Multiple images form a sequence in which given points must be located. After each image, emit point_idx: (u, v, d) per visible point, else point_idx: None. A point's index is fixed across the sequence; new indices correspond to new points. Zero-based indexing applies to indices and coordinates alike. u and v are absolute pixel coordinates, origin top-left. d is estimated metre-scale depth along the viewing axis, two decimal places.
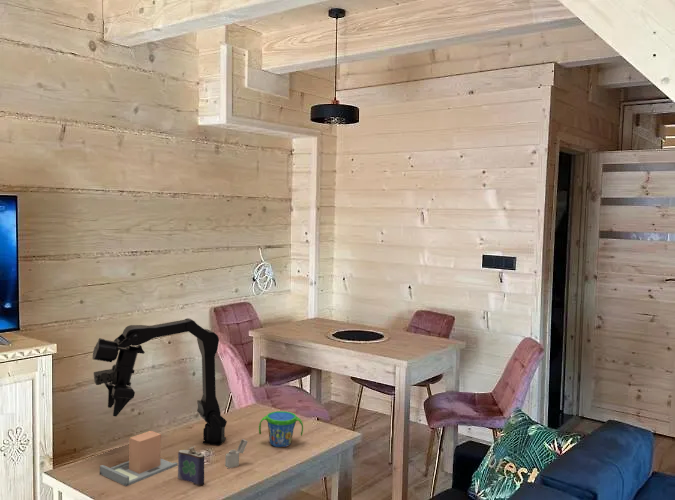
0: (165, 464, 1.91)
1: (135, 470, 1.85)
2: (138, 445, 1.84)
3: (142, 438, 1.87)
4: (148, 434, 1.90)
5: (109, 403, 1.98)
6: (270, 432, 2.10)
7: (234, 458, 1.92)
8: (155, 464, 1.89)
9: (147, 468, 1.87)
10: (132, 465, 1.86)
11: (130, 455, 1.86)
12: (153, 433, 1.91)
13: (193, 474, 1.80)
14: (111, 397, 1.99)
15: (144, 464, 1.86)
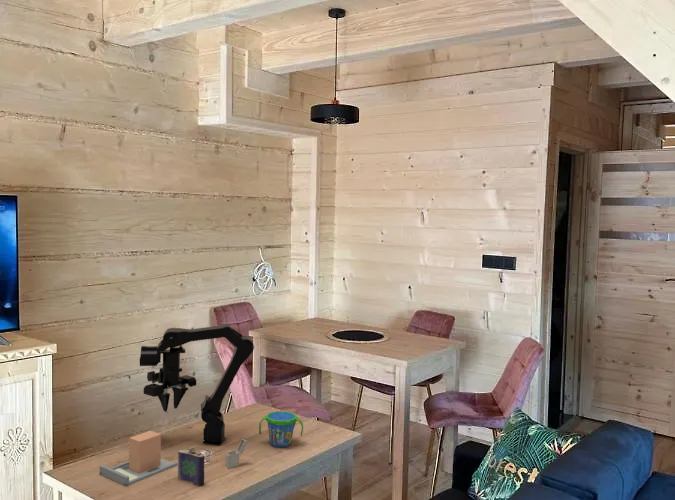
0: (165, 464, 1.91)
1: (135, 470, 1.85)
2: (138, 445, 1.84)
3: (142, 438, 1.87)
4: (148, 434, 1.90)
5: (174, 404, 2.11)
6: (270, 432, 2.10)
7: (234, 458, 1.92)
8: (155, 464, 1.89)
9: (147, 468, 1.87)
10: (132, 465, 1.86)
11: (130, 455, 1.86)
12: (153, 433, 1.91)
13: (193, 474, 1.80)
14: (175, 398, 2.11)
15: (144, 464, 1.86)
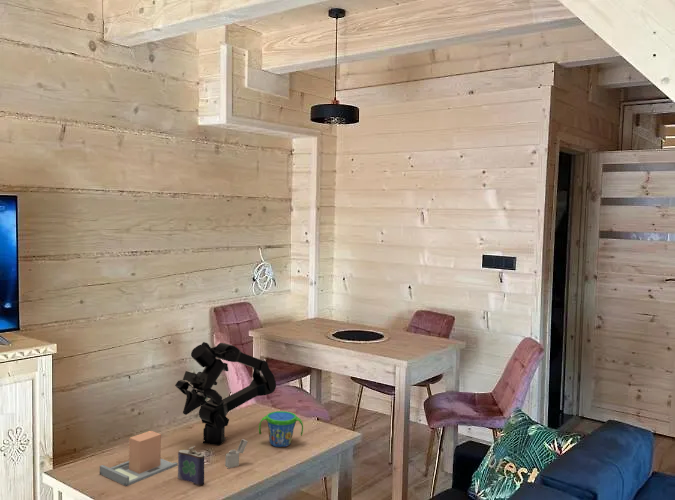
0: (165, 464, 1.91)
1: (135, 470, 1.85)
2: (138, 445, 1.84)
3: (142, 438, 1.87)
4: (148, 434, 1.90)
5: None
6: (270, 432, 2.10)
7: (234, 458, 1.92)
8: (155, 464, 1.89)
9: (147, 468, 1.87)
10: (132, 465, 1.86)
11: (130, 455, 1.86)
12: (153, 433, 1.91)
13: (193, 474, 1.80)
14: None
15: (144, 464, 1.86)
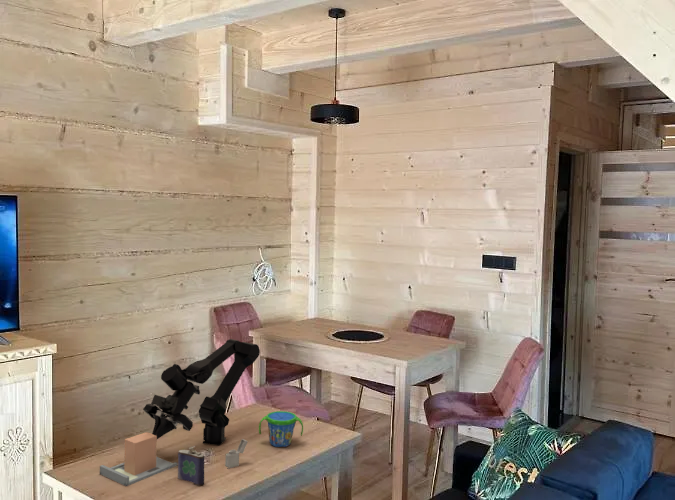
0: (165, 464, 1.91)
1: (130, 472, 1.84)
2: (134, 447, 1.82)
3: (137, 439, 1.85)
4: (143, 435, 1.88)
5: None
6: (270, 432, 2.10)
7: (234, 458, 1.92)
8: (151, 466, 1.88)
9: (143, 470, 1.85)
10: (127, 467, 1.85)
11: (125, 457, 1.85)
12: (149, 434, 1.89)
13: (193, 474, 1.80)
14: None
15: (140, 465, 1.84)
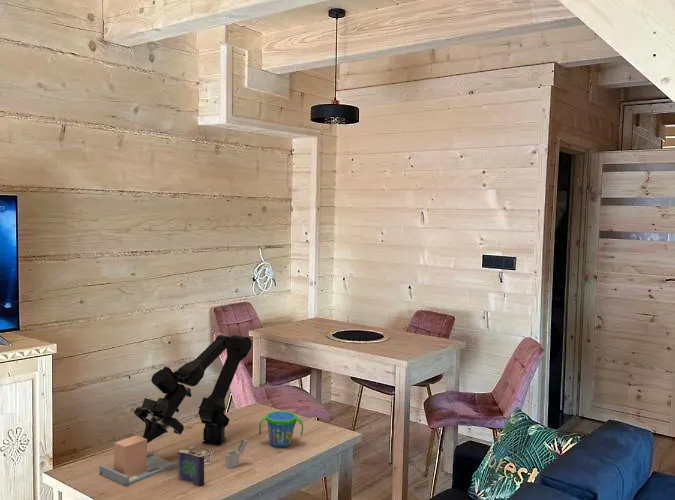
0: (165, 464, 1.91)
1: None
2: (123, 450, 1.79)
3: (127, 442, 1.82)
4: (133, 439, 1.85)
5: None
6: (270, 432, 2.10)
7: (234, 458, 1.92)
8: (141, 470, 1.85)
9: (132, 474, 1.82)
10: (117, 470, 1.82)
11: (115, 461, 1.82)
12: (139, 438, 1.86)
13: (193, 474, 1.80)
14: None
15: (130, 469, 1.81)
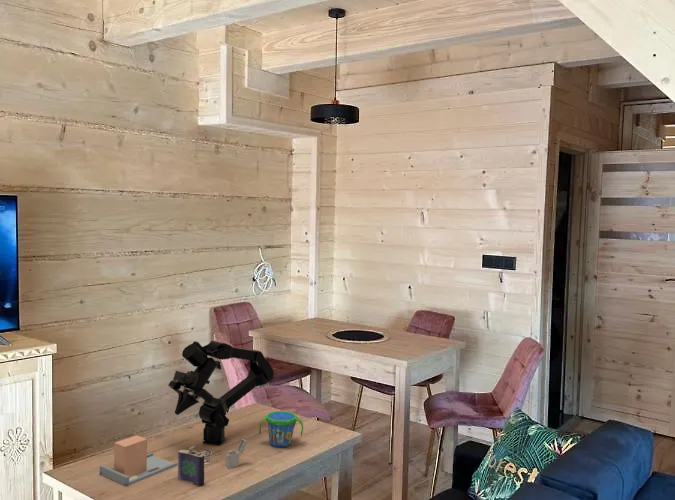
0: (165, 464, 1.91)
1: None
2: (123, 450, 1.79)
3: (127, 442, 1.82)
4: (134, 439, 1.85)
5: None
6: (270, 432, 2.10)
7: (234, 458, 1.92)
8: (141, 470, 1.85)
9: (132, 474, 1.82)
10: (117, 470, 1.82)
11: (115, 461, 1.82)
12: (139, 438, 1.86)
13: (193, 474, 1.80)
14: None
15: (130, 469, 1.81)
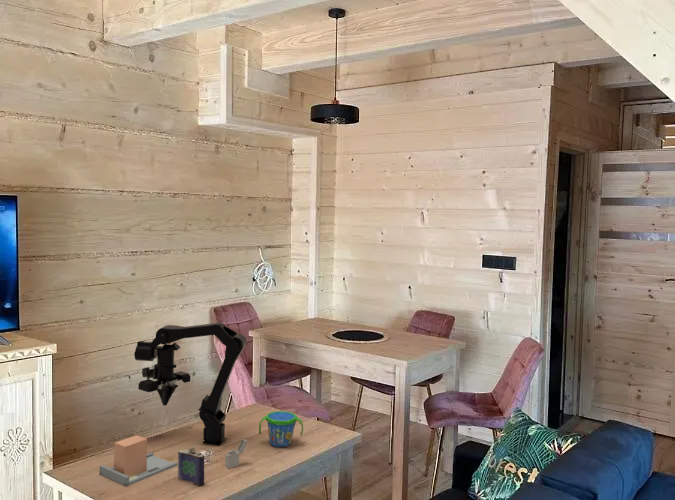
0: (165, 464, 1.91)
1: None
2: (123, 450, 1.79)
3: (127, 442, 1.82)
4: (134, 439, 1.85)
5: None
6: (270, 432, 2.10)
7: (234, 458, 1.92)
8: (141, 470, 1.85)
9: (132, 474, 1.82)
10: (117, 470, 1.82)
11: (115, 461, 1.82)
12: (139, 438, 1.86)
13: (193, 474, 1.80)
14: None
15: (130, 469, 1.81)
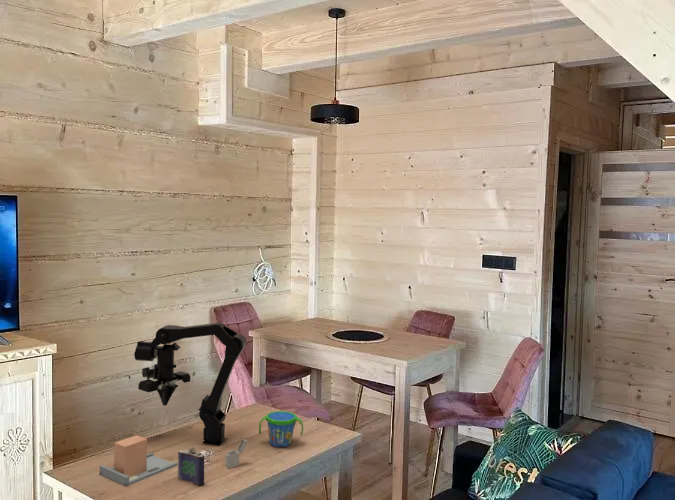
0: (165, 464, 1.91)
1: None
2: (123, 450, 1.79)
3: (127, 442, 1.82)
4: (134, 439, 1.85)
5: None
6: (270, 432, 2.10)
7: (234, 458, 1.92)
8: (141, 470, 1.85)
9: (132, 474, 1.82)
10: (117, 470, 1.82)
11: (115, 461, 1.82)
12: (139, 438, 1.86)
13: (193, 474, 1.80)
14: None
15: (130, 469, 1.81)
